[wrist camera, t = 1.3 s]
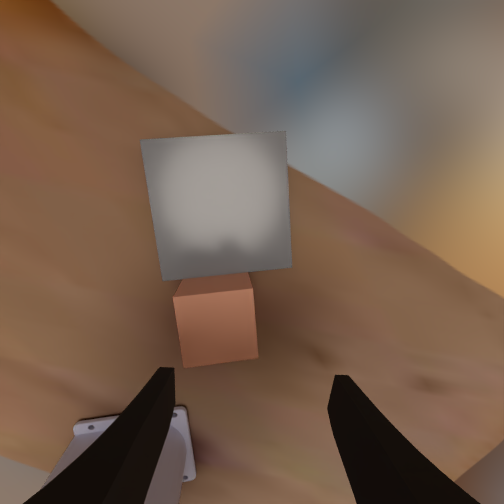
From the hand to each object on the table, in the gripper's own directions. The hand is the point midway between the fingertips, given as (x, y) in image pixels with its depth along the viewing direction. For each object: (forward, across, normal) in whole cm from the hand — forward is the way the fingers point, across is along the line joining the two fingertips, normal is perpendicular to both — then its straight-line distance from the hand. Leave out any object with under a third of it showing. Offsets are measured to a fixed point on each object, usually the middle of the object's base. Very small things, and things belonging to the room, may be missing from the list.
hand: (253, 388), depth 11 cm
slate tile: (+11, +3, -6) cm, 13 cm away
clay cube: (+10, +2, +1) cm, 10 cm away
